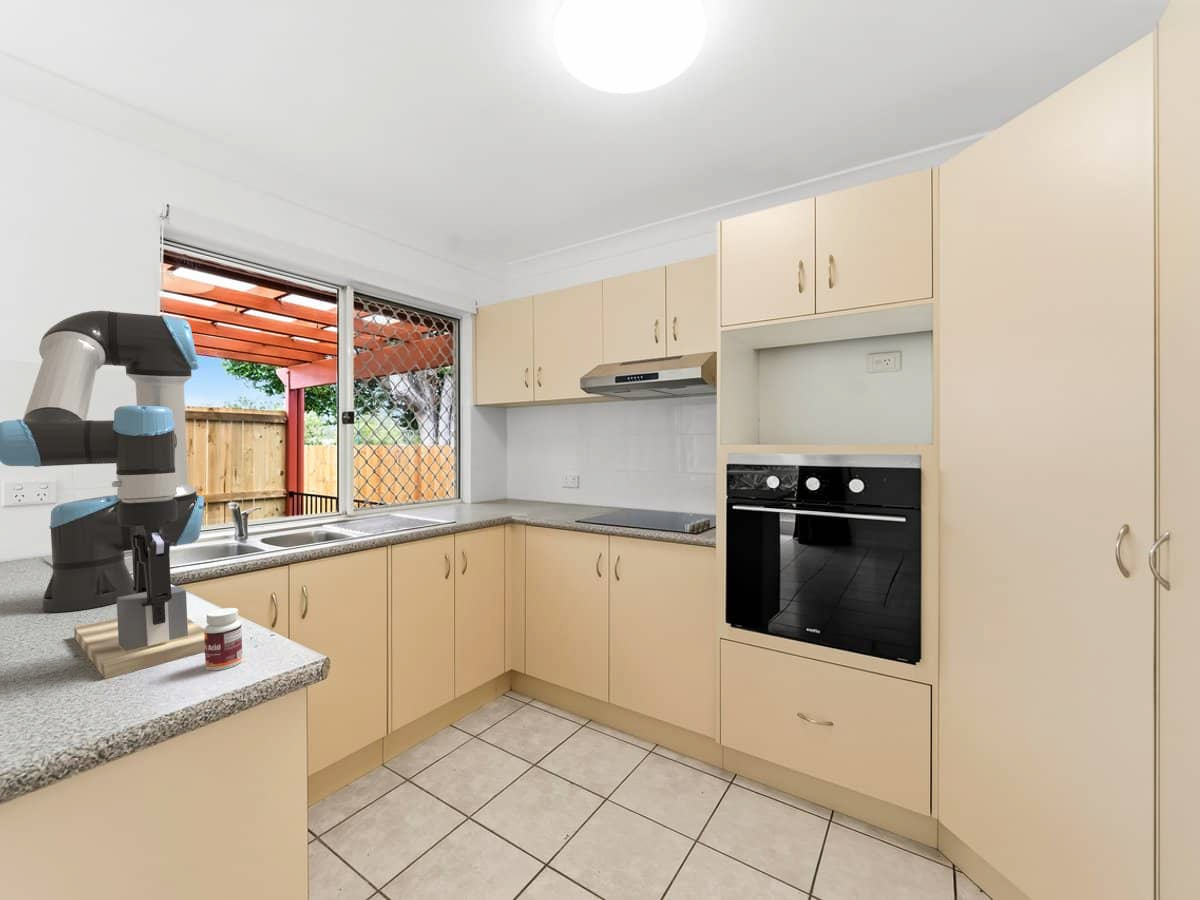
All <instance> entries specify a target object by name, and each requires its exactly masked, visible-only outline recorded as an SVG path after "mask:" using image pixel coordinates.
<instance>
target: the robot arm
mask: <svg viewBox="0 0 1200 900" xmlns="http://www.w3.org/2000/svg"><path fill="white" fill-rule="evenodd" d="M38 351H39V355H40V358H41V359H42V361H41V365H40V366H39V371H38V373H37V376H36V378H35V382H34V384H33V385H34V386H33V389H32V392H31V394H30V397H29V399H28V403H27V405H26V409H25V411H24V414H23V418H18V419H15V420H14V419H13V420H11V419H10V420H4V421H0V463H1V464H3V465H5V466H8V467H34V468H38V467H40V468H41V467H51V466H52V467H56V466H57V467H58V466H77V465H102V464H103V465H104V464H115V465H116V471H115V472H116V473H115V474H116V480H114V481H112V482H111V487H113V488H117V489H116V491H117V494H113V495H104V496H98V497H92V498H85V499H80V500H74V501H70V502H66V503H65V502H64V503H60V504H58V505H56V506H55V507H53V508H52V510H51V512H50V525H49V527H48V528H49V529H50V540H51V541H50V542H51V559H52V574H51V577H50V579H49V581H48V585H47V586H46V589H45V592H44V594H43V597H42V610H43V611H44V612H49V613H53V612H54V613H58V612H59V613H60V612H62V613H63V612H73V611H81V610H87V609H88V610H89V609H94V608H95V609H96V608H99V607H104V606H108V605H113V604H117V597H121V596H127V595H132V594H137V593H143V592H147V602H145V603H142V607H146V631H147V645H148V646H150V645H154V644H158V643H162V642H166V641H169V620H168V600H171V599H172V598H171V597H172V594H171V587H172V584H171V581H172V579H171V563H170V562H171V560H170V559H171V557H170V552H171V551H170V549H171V547H177V546H181V545H188V544H193V543H195V542H197V541H198V539H200V536H201V530H202V523H203V514H204V505H205V497H204V495H201V494H198V493H197V488H196V487H195V486H193V485H192V484H191V483H189V472H188V453H187V452H188V450H187V429H186V428H187V426H186V424H187V423H186V405H185V384H186V382H187V381H189V380H190V379H191V378H192V375H193V374H192V370H193V371H195V370H198V369H199V368H200V367H199V366H200V365H199V361H198V357H197V351H196V347H195V343H194V336H193V332H192V328H191V324H190V323H189V322H188V321H187V320H185V319H183V318H178V317H172V316H166V315H155V314H153V315H152V314H142V313H141V314H140V313H130V312H129V313H128V312H117V311H110V310H91V311H86V312H80V313H77V314H74V315H72V316H69V317H67V318H65V319H62V320H59V322H57V323H56V324H53V326H51V327H50V328H49V329H48V330H47V331H46V332H45V333H44V334H43V336H42V338H41V341H40V343H39V349H38ZM103 366H115V367H117V366H118V367H125V375H126V376H127V377H128V378H129V379H131V380H132V381H133V382H134V383H135V396H136V397H135V398H136V405H121V406H118V407H116V408H115V409H114V411H113V419H112V420H111V419H110V420H93V419H92V420H90V419H89V420H87V419H88V413H89V408H90V403H91V398H92V393H93V387H94V383H95V377H96V373H97V371H98V370H100V368H102V367H103ZM128 551H131V556H132V557H131V558H132V575H131V573H130V571H129V569H128V567H127V565H126V562H125V552H128ZM158 594H159V595H158Z"/></svg>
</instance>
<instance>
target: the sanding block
mask: <svg viewBox="0 0 1200 900" xmlns="http://www.w3.org/2000/svg"><path fill="white" fill-rule="evenodd" d="M171 594H172V597H171V598H172V599H171V600H168V620H169V641H166V642H162V643H158V644H154V645H150V646H148V645H147V631H146V607H142V603H145V602H147V592H143V593H137V594H132V595H127V596H121V597H117V603H116V614H117V617H116V618H118V639H119V647H120V648H121V649H122V650H123V651H124V652H125V653H128V652H132V651H136V650H140V649H144V648H148V647H152V646H156V645H160V644H164V643H168V642H172V641H176V640H180V639H184V638H188V626H187V618H188V606H187V590H185V589H184V588H182V587H180V586H178V585H175V586H171ZM158 595H159V594H158Z"/></svg>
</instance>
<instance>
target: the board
mask: <svg viewBox="0 0 1200 900" xmlns="http://www.w3.org/2000/svg"><path fill="white" fill-rule="evenodd" d="M187 626H188V638H184V639H180V640H176V641H172V642H168V643H164V644H160V645H156V646H152V647H148V648H144V649H140V650H136V651H132V652H128V653H125V652H124V651H123V650H122V649H121V648H120V647H119V639H118V617H115V618H113V619H112V618H110V619H106V620H102V621H96V622H93V623H87V624H82V625H77V626H74V630H73V633H74V639H75V641H76V642H77V644H79V645H80V647H81V648H82V650H83V651H84V653H85V655H86V656H87V657H88V658H89V660H90V661H91V662H92V664H93V665H94V667H95V668H96V669H97V671H98V672H99V673H100V675H101V677H103V679H104V680H107V679H110V678H114V677H118V676H120V675H125V674H128V673H129V674H130V673H131V672H136V671H140V670H143V669H147V668H151V667H154V666H155V667H156V666H157V665H161V664H166V663H169V662H173V661H177V660H179V659H182V658H183V659H184V658H187V657H191V656H195V655H198V654H202V653H205V636H204V630H205V628H203V627H202V626H200V625H199V624H198V623H197V622H194V621H193V620H191V619H190V618H188V617H187Z"/></svg>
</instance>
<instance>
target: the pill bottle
mask: <svg viewBox="0 0 1200 900" xmlns="http://www.w3.org/2000/svg"><path fill="white" fill-rule="evenodd" d="M206 624H207V625H206V626H205V628H204V629H205V630H204V636H205V652H204V656H205V657H204V659H205V660H204V661H205V668H206V669H207V670H208V671H221V670H225V669H229V668H233V667H235V666H238V665H239V664H241V663H242V661H243V642H242V641H243V637H242V636H243V633H242V630H243V629H242V622H241V621H240V620H239V609H238V608H237V607H225V608H220V609H216V610H213V611H209V612H208V613H207V614H206Z"/></svg>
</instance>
